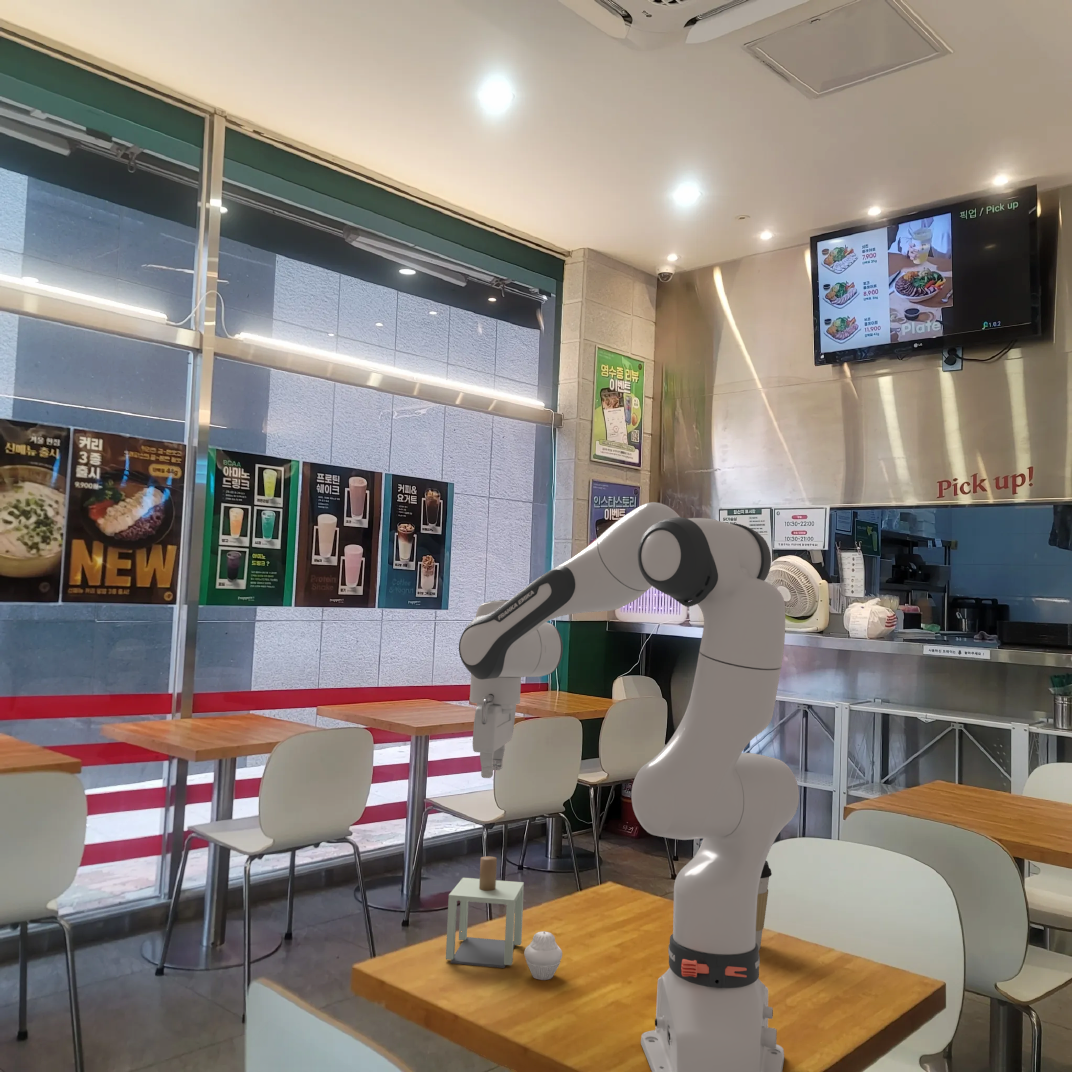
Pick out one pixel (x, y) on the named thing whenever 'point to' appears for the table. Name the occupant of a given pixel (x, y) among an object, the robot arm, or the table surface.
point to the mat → (481, 952)
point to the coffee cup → (762, 902)
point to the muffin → (543, 956)
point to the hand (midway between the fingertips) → (492, 773)
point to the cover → (486, 892)
